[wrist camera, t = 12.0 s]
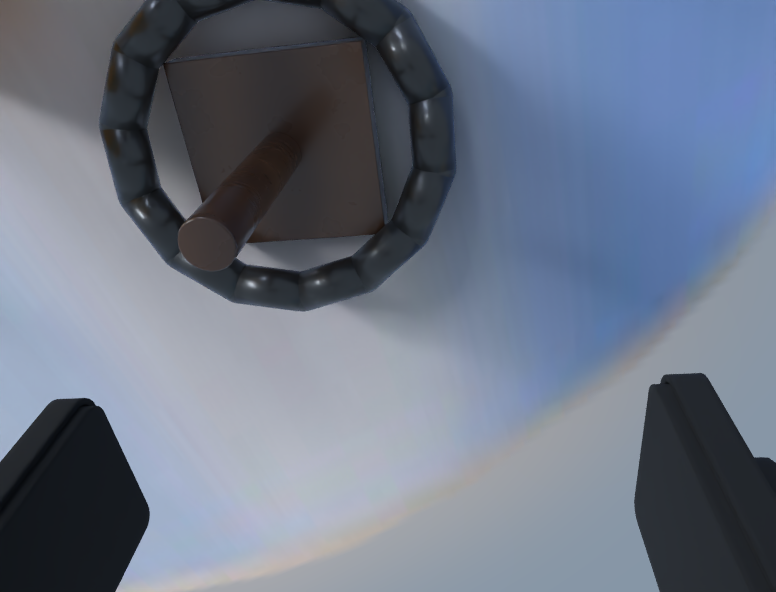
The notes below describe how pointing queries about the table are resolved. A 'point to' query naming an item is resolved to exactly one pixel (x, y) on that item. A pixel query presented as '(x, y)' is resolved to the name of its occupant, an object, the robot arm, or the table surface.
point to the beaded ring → (238, 281)
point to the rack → (278, 146)
